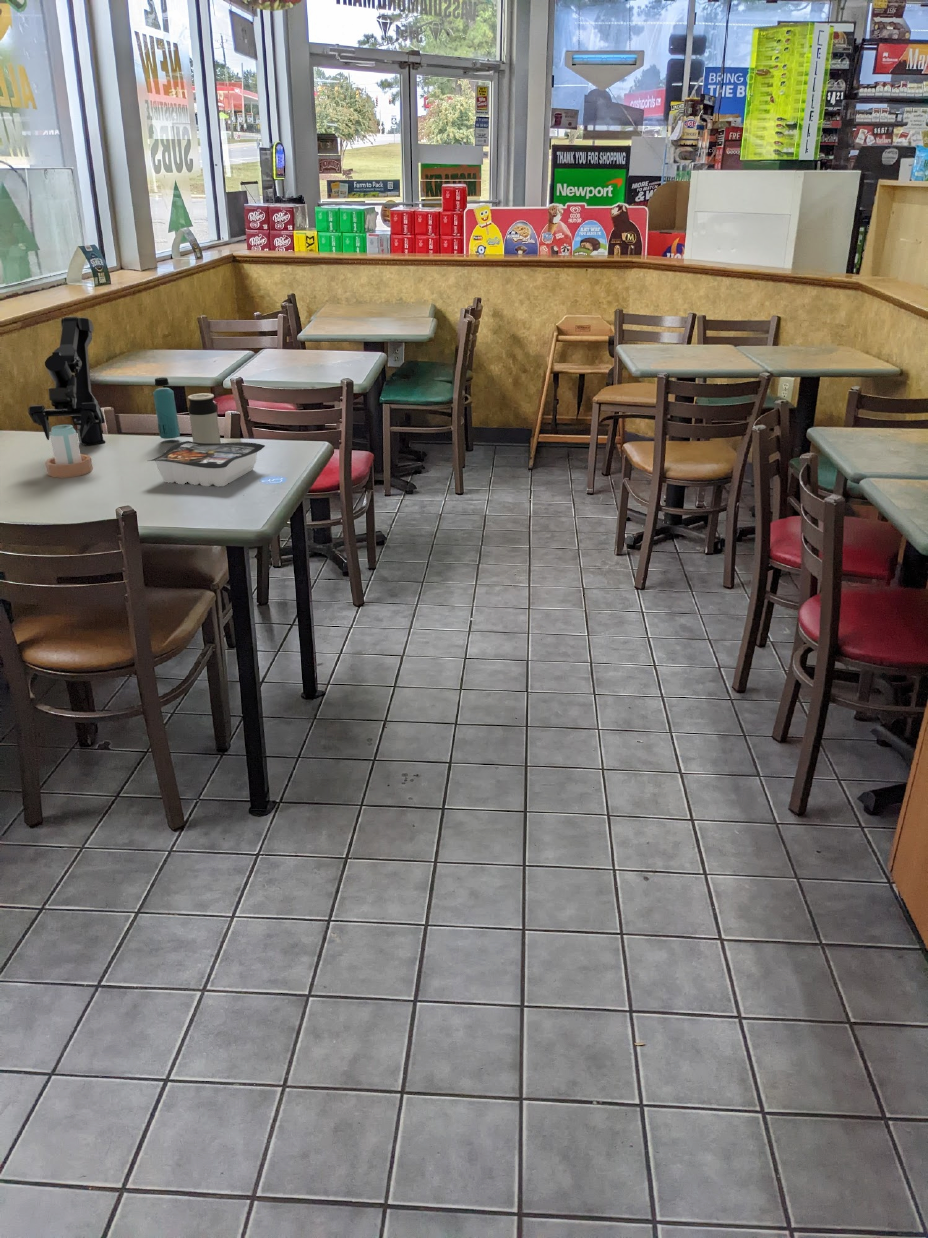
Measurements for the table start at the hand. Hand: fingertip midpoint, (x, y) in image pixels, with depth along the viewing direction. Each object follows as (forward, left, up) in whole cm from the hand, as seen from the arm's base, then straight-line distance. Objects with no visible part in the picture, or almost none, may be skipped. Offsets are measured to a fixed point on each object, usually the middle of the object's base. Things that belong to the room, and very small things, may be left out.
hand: (64, 438), depth 280 cm
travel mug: (-38, +11, -10) cm, 40 cm away
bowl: (0, 0, -10) cm, 10 cm away
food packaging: (-29, +32, -10) cm, 44 cm away
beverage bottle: (-36, -14, -10) cm, 40 cm away
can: (0, 0, -9) cm, 9 cm away
